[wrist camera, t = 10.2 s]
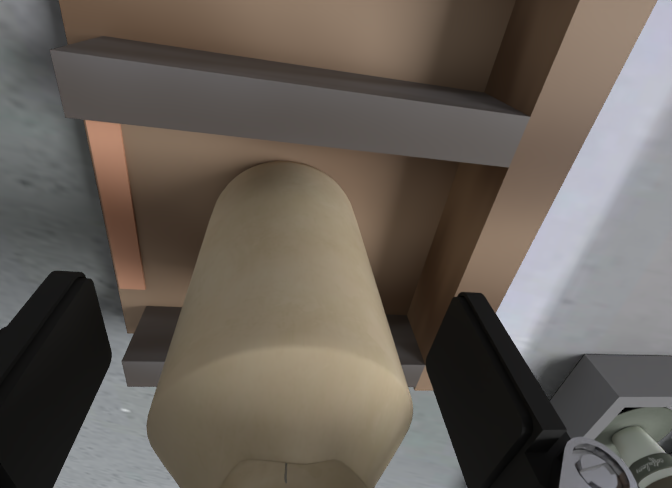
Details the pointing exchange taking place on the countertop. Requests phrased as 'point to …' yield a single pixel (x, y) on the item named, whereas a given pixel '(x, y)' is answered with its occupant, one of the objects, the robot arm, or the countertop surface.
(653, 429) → the coffee cup
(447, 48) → the wooden divided tray
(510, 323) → the countertop surface
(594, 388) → the grey shallow square tray
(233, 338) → the candle
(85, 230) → the countertop surface
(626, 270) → the countertop surface
